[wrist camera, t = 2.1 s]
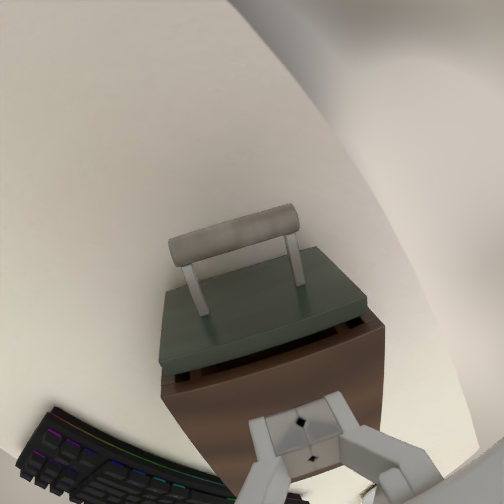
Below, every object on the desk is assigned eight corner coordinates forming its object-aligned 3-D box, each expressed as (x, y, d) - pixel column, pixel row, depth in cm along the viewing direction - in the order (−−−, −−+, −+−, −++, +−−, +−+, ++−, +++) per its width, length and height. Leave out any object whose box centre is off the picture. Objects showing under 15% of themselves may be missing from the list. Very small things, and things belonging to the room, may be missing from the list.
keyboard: (307, 493, 42) (315, 515, 37) (242, 524, 44) (247, 545, 39) (51, 398, 26) (39, 433, 21) (20, 448, 28) (12, 475, 24)
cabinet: (166, 306, 24) (160, 397, 15) (322, 258, 25) (385, 325, 16) (222, 418, 30) (235, 497, 21) (338, 381, 31) (377, 450, 22)
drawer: (140, 228, 21) (117, 280, 14) (303, 180, 22) (358, 207, 14) (220, 407, 28) (231, 474, 21) (334, 371, 29) (368, 430, 22)
